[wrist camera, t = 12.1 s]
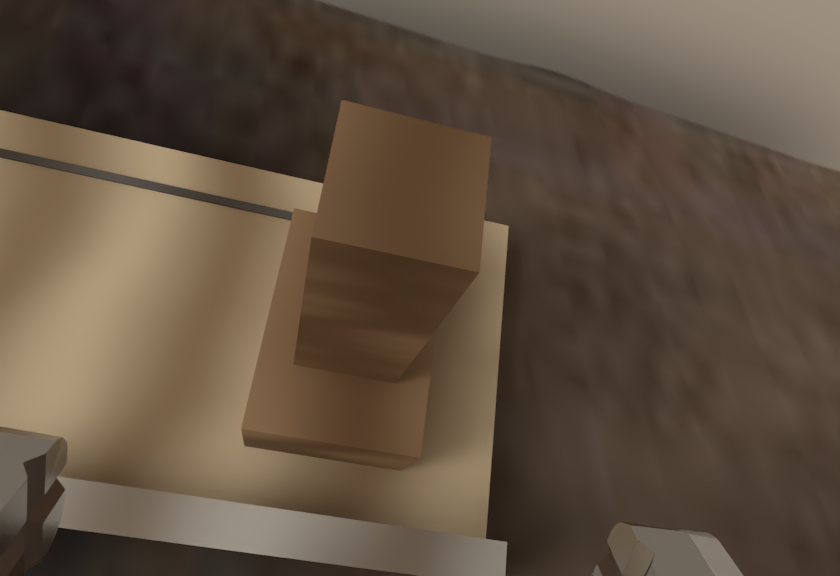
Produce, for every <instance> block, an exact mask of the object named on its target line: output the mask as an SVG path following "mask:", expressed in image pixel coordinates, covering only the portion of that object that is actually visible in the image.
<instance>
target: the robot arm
mask: <svg viewBox="0 0 840 576" xmlns="http://www.w3.org/2000/svg"><path fill="white" fill-rule="evenodd" d="M66 464H67V442H66V440H65V439H64V438H63V437H59V436H53V435H47V434H41V433H36V432H30V431H24V430H18V429H12V428H7V427H1V426H0V576H24V572H25V570H27V569H28V568H30V567H32V566H34V565H35V564H37V563H39V562H41V561H42V559H43V557H44V556H45V554H46V552H47V551H48V549H49V547H50V546H51V544H52V542H53V539H54V537H55V534H56V532H57V529H58V527H59V524H60V522H61V517H62V513H63V508H64V502H65V488H64V487H63V486H62V484H61V483H60V482H59V480H58V479H57V477H58V475H59V474H60V472H61V471H62V470H63V468H64V467H65V465H66ZM607 544H608V547H609V549H610V552H611V554H609V555H608V556H606V557H605V558H603V559H602V560H601V561H599V562H598V563H597V564H596V566H595V569H594V571H593V574H592V576H743V574H742V573H741V572H740V570H739V569H738V567H737V566H736V564H735V563H734V562H733V560H732V559H731V557H730V556H729V555H728V553H727V552H726V550H725V549H724V547H723V546H722V545H721V543H720V542H719V540H718V539H716V538H715V537H714V536H712V535H711V534H709V533H705V532H697V531H688V530H680V529H679V530H673V529H666V528H660V527H653V526H646V525H639V524H632V523H625V522H619V523H618V524H617V525H616V526H615V527H614V528H613V529H612V531H611V533H610V535H609V537H608V539H607Z"/></svg>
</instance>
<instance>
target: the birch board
mask: <svg viewBox="0 0 840 576" xmlns="http://www.w3.org/2000/svg"><path fill="white" fill-rule="evenodd" d="M322 187H323V184H322V183H318V182H314V181H309V180H305V179H300V178H296V177H292V176H287V175H283V174H279V173H274V172H270V171H265V170H261V169H257V168H252V167H248V166H243V165H239V164H235V163H230V162H226V161H221V160H217V159H213V158H208V157H204V156H199V155H195V154H191V153H186V152H182V151H178V150H173V149H169V148H164V147H160V146H156V145H151V144H147V143H142V142H138V141H134V140H129V139H125V138H120V137H116V136H112V135H107V134H103V133H98V132H94V131H90V130H85V129H81V128H77V127H72V126H68V125H63V124H59V123H55V122H50V121H46V120H41V119H37V118H33V117H28V116H24V115H19V114H15V113H11V112H6V111H2V110H0V426H1V427H7V428H12V429H18V430H24V431H30V432H36V433H41V434H47V435H53V436H59V437H63V438H64V439H65V440H66V442H67V464H66V465H65V467H64V468H63V470H62V471H61V472H60V474H59V475H58V477H57V479H58V480H59V482H60V483H61V484H62V486H63V487H64V488H65V502H64V508H63V513H62V517H61V522H60V524H59V527H60V528H67V529H74V530H82V531H89V532H97V533H104V534H112V535H119V536H127V537H134V538H141V539H149V540H156V541H164V542H171V543H179V544H186V545H194V546H201V547H208V548H216V549H223V550H231V551H238V552H246V553H253V554H261V555H268V556H275V557H283V558H290V559H298V560H305V561H313V562H320V563H328V564H335V565H343V566H350V567H357V568H365V569H372V570H380V571H387V572H395V573H402V574H410V575H417V576H505V571H506V554H507V542H504V541H497V540H490V539H486V531H487V517H488V503H489V490H490V476H491V462H492V448H493V435H494V421H495V407H496V393H497V380H498V366H499V352H500V338H501V324H502V311H503V297H504V283H505V269H506V256H507V242H508V228H509V226H507V225H502V224H498V223H494V222H489V221H485V220H484V229H483V240H482V251H481V261H480V272H479V274H478V275H477V277H476V278H475V279H474V281H473V282H472V283H471V284H470V286H469V287H468V288H467V290H466V291H465V292H464V294H463V295H462V296H461V298H460V299H459V300H458V302H457V303H456V304H455V306H454V307H453V308H452V310H451V311H450V312H449V314H448V315H447V316H446V318H445V319H444V320H443V321H442V323H441V324H440V325H439V327H438V328H437V329H436V332H435V341H434V349H433V358H432V366H431V375H430V383H429V392H428V400H427V408H426V417H425V425H424V434H423V442H422V451H421V458H420V459H418V460H417V461H415V462H414V463H412V464H410V465H409V466H407V467H406V468H404V469H402V470H401V471H398V470H392V469H385V468H379V467H373V466H366V465H360V464H354V463H348V462H341V461H335V460H329V459H322V458H316V457H310V456H304V455H297V454H291V453H285V452H278V451H272V450H266V449H260V448H253V447H247V446H244V441H243V436H242V431H241V427H242V423H243V418H244V414H245V410H246V406H247V402H248V398H249V393H250V389H251V385H252V381H253V377H254V373H255V368H256V364H257V360H258V356H259V352H260V348H261V343H262V339H263V335H264V331H265V327H266V323H267V318H268V314H269V310H270V306H271V302H272V298H273V294H274V289H275V285H276V281H277V277H278V273H279V269H280V264H281V260H282V256H283V252H284V248H285V244H286V239H287V235H288V231H289V227H290V223H291V219H292V214H293V210H294V208H296V209H300V210H305V211H310V212H314V213H317V210H318V205H319V201H320V196H321V192H322Z"/></svg>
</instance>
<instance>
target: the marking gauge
mask: <svg viewBox="0 0 840 576" xmlns="http://www.w3.org/2000/svg"><path fill="white" fill-rule="evenodd" d="M491 141H492V137H489V136H485V135H481V134H477V133H473V132H469V131H465V130H461V129H457V128H453V127H449V126H445V125H441V124H437V123H433V122H429V121H425V120H421V119H417V118H413V117H409V116H405V115H401V114H397V113H393V112H389V111H385V110H381V109H377V108H373V107H369V106H365V105H361V104H357V103H353V102H349V101H345V100H342V102H341V106H340V111H339V115H338V120H337V124H336V129H335V133H334V138H333V142H332V147H331V151H330V156H329V160H328V165H327V169H326V174H325V178H324V183H323V187H322V192H321V196H320V201H319V205H318V210H317V213H314V212H310V211H305V210H300V209H296V208H294V210H293V214H292V219H291V223H290V227H289V231H288V235H287V239H286V244H285V248H284V252H283V256H282V260H281V264H280V269H279V273H278V277H277V281H276V285H275V289H274V294H273V298H272V302H271V306H270V310H269V314H268V318H267V323H266V327H265V331H264V335H263V339H262V343H261V348H260V352H259V356H258V360H257V364H256V368H255V373H254V377H253V381H252V385H251V389H250V393H249V398H248V402H247V406H246V410H245V414H244V418H243V423H242V427H241V431H242V436H243V441H244V446H247V447H253V448H260V449H266V450H272V451H278V452H285V453H291V454H297V455H304V456H310V457H316V458H322V459H329V460H335V461H341V462H348V463H354V464H360V465H366V466H373V467H379V468H385V469H392V470H398V471H401V470H402V469H404V468H406V467H407V466H409V465H410V464H412V463H414V462H415V461H417V460H418V459H420V458H421V451H422V442H423V434H424V425H425V417H426V408H427V400H428V392H429V383H430V375H431V366H432V358H433V349H434V341H435V332H436V329H437V328H438V327H439V325H440V324H441V323H442V321H443V320H444V319H445V318H446V316H447V315H448V314H449V312H450V311H451V310H452V308H453V307H454V306H455V304H456V303H457V302H458V300H459V299H460V298H461V296H462V295H463V294H464V292H465V291H466V290H467V288H468V287H469V286H470V284H471V283H472V282H473V281H474V279H475V278H476V277H477V275H478V274H479V272H480V261H481V251H482V240H483V229H484V218H485V207H486V196H487V185H488V174H489V163H490V152H491Z"/></svg>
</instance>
